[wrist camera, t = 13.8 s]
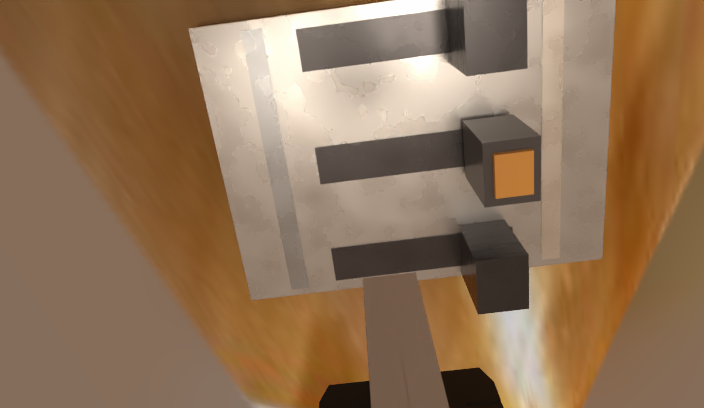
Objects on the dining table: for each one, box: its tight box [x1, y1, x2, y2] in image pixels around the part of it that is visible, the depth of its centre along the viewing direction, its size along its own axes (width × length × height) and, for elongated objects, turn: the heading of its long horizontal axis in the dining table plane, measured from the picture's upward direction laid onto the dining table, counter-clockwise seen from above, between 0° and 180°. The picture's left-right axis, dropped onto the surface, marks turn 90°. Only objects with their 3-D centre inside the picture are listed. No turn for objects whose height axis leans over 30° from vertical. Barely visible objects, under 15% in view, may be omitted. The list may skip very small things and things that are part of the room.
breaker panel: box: [189, 0, 616, 314], centre depth 32 cm, size 18×24×7 cm
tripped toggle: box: [463, 114, 541, 208], centre depth 30 cm, size 4×3×5 cm
